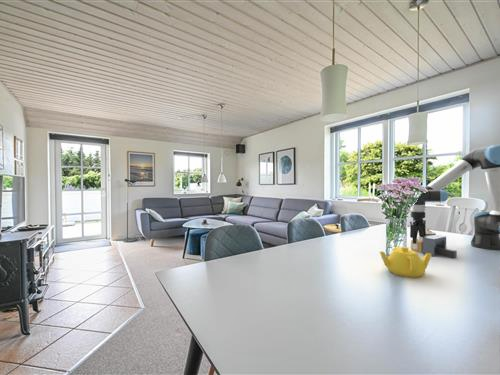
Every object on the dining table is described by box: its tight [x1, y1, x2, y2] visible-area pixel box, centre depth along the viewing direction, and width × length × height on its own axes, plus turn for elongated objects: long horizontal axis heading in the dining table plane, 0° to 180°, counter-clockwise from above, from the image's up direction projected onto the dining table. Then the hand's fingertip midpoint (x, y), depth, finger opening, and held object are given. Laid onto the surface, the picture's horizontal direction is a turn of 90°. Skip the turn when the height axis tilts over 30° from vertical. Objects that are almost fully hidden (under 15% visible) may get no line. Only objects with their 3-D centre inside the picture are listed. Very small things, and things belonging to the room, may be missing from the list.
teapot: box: [379, 246, 432, 278], centre depth 116 cm, size 17×17×12 cm
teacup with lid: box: [426, 228, 437, 237], centre depth 163 cm, size 12×9×12 cm
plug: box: [410, 239, 458, 259], centre depth 147 cm, size 6×22×6 cm, turn 28°
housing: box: [422, 234, 447, 257], centre depth 146 cm, size 14×6×10 cm, turn 119°
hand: (418, 247), depth 154 cm, fingers closed on plug, 6 cm apart
